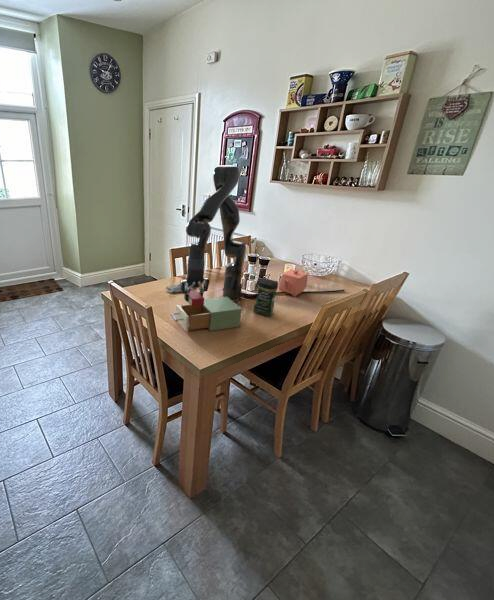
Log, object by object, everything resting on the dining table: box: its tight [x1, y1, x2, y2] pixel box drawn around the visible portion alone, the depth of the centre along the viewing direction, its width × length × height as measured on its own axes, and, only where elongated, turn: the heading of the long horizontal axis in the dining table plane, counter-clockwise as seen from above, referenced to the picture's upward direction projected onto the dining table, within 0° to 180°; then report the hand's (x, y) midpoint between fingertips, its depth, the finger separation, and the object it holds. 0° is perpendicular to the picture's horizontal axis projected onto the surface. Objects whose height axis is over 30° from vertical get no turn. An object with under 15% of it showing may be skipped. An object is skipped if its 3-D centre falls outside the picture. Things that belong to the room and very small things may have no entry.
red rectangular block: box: [183, 289, 205, 306], centre depth 153 cm, size 6×10×4 cm, turn 17°
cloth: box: [166, 283, 195, 294], centre depth 202 cm, size 26×14×2 cm, turn 131°
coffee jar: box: [253, 277, 279, 317], centre depth 169 cm, size 10×8×19 cm
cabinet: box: [203, 297, 243, 331], centre depth 161 cm, size 16×15×10 cm
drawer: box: [170, 303, 211, 333], centre depth 157 cm, size 19×13×8 cm
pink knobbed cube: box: [278, 269, 308, 297], centre depth 196 cm, size 22×13×14 cm, turn 134°
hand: (193, 300), depth 153 cm, fingers closed on red rectangular block, 6 cm apart
